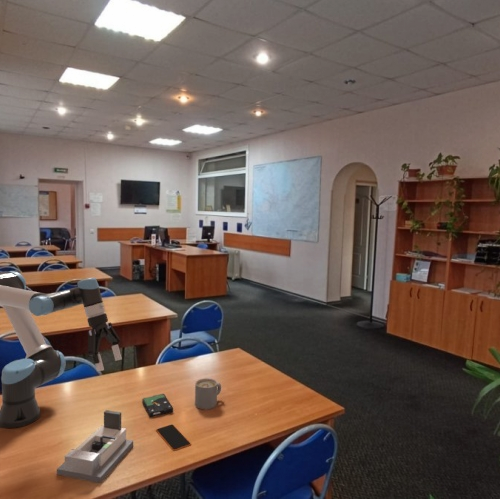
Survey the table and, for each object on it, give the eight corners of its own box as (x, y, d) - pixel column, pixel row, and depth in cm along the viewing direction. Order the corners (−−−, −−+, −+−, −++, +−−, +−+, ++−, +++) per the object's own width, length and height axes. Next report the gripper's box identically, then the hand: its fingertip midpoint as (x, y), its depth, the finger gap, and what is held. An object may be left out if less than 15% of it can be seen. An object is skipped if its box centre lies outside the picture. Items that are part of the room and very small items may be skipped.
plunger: (95, 445, 142) (95, 419, 141) (106, 435, 149) (106, 410, 148) (110, 448, 141) (110, 422, 140) (121, 437, 147) (121, 412, 146)
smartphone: (173, 452, 144) (173, 450, 144) (155, 431, 157) (155, 429, 157) (191, 445, 149) (191, 443, 148) (172, 425, 162) (172, 423, 162)
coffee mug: (201, 411, 173) (201, 389, 172) (191, 402, 182) (191, 381, 181) (227, 404, 181) (227, 383, 180) (216, 395, 189) (217, 375, 188)
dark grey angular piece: (92, 448, 140) (92, 435, 140) (95, 446, 142) (95, 432, 141) (113, 452, 138) (113, 438, 138) (116, 449, 140) (116, 436, 139)
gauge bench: (56, 474, 129) (56, 456, 129) (94, 439, 150) (94, 423, 149) (100, 483, 126) (100, 464, 126) (133, 445, 147) (133, 429, 146)
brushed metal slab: (64, 470, 129) (64, 456, 128) (72, 462, 133) (72, 448, 132) (92, 475, 127) (92, 461, 126) (99, 467, 130) (99, 453, 130)
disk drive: (173, 413, 172) (163, 398, 185) (173, 407, 171) (164, 393, 184) (150, 419, 167) (141, 403, 180) (150, 412, 166) (141, 397, 179)
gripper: (86, 319, 149) (100, 373, 149) (120, 307, 173) (132, 354, 173) (69, 324, 150) (83, 377, 150) (105, 311, 175) (117, 357, 174)
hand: (110, 365), depth 161 cm, fingers open, 13 cm apart
